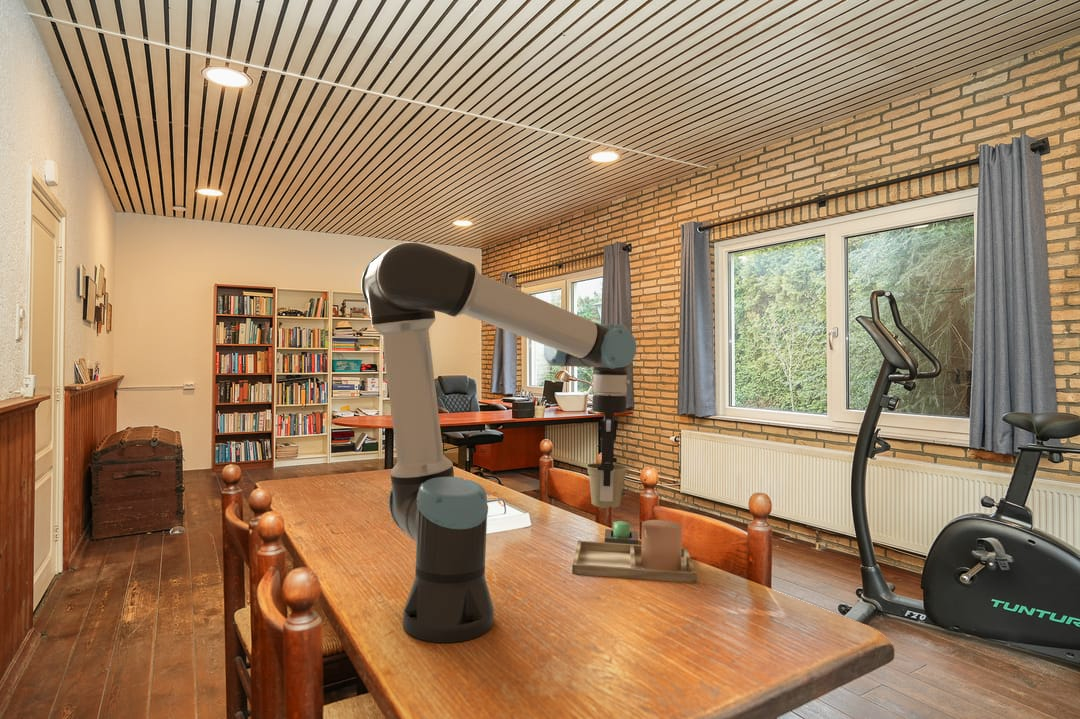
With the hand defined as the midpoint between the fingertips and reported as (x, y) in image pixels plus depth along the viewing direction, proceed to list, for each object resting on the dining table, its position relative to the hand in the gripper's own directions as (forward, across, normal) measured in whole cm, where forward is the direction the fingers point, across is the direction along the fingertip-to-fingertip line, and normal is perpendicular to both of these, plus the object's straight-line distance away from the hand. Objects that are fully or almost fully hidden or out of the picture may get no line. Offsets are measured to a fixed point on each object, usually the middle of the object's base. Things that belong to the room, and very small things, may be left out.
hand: (606, 495), depth 132 cm
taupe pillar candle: (+15, 0, -12) cm, 19 cm away
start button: (+15, +15, -4) cm, 21 cm away
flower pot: (+2, 0, 0) cm, 2 cm away
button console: (+16, +15, -4) cm, 22 cm away
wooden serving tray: (+15, 0, -6) cm, 17 cm away
